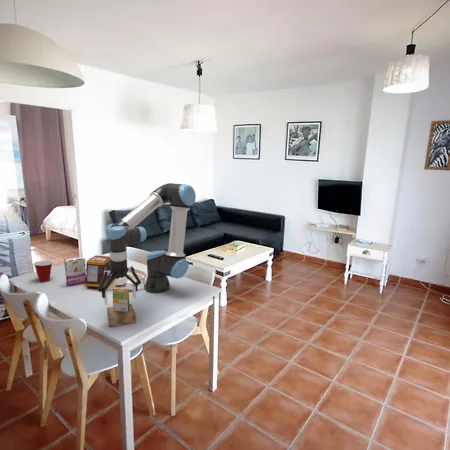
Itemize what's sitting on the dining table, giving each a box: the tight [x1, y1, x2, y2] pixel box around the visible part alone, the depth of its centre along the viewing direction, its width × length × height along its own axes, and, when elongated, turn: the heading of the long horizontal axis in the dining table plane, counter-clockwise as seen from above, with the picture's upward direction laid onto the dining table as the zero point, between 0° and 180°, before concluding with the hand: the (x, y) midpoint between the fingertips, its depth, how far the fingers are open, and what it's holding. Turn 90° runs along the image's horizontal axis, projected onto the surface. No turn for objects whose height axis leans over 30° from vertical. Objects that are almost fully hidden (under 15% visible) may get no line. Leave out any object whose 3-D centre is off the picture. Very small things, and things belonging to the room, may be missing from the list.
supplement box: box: [85, 254, 111, 288], centre depth 198 cm, size 10×15×16 cm
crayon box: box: [112, 288, 130, 312], centre depth 155 cm, size 7×3×12 cm, turn 91°
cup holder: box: [114, 272, 146, 291], centre depth 196 cm, size 20×11×7 cm, turn 54°
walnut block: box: [106, 303, 137, 328], centre depth 156 cm, size 12×12×5 cm
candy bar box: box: [63, 256, 86, 287], centre depth 197 cm, size 11×5×16 cm, turn 126°
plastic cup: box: [32, 260, 54, 283], centre depth 202 cm, size 11×11×12 cm
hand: (120, 300), depth 155 cm, fingers open, 13 cm apart
